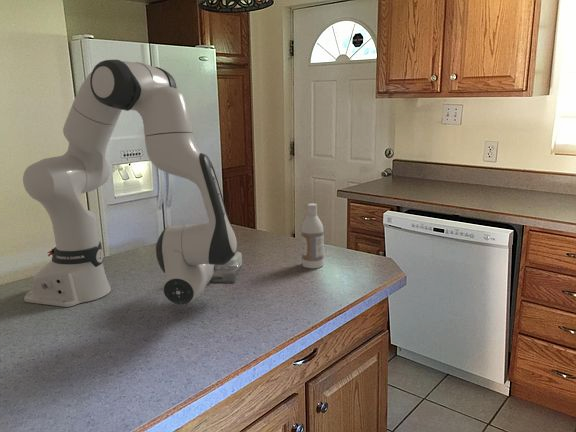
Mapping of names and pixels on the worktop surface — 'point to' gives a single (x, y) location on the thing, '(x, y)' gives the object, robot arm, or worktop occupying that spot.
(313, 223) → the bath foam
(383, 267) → the worktop surface
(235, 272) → the octagonal cup holder
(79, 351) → the worktop surface
